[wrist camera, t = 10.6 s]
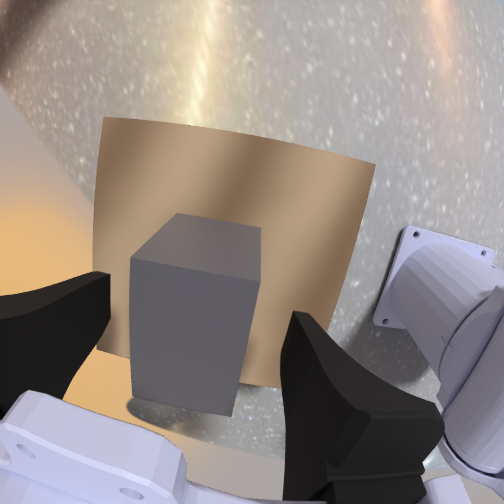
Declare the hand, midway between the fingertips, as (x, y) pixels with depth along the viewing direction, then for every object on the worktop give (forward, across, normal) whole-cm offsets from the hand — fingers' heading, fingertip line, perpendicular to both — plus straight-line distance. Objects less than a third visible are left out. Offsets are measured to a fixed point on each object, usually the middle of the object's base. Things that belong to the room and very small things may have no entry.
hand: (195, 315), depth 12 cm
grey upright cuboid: (+4, 0, 0) cm, 4 cm away
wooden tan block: (+5, 0, 0) cm, 5 cm away
